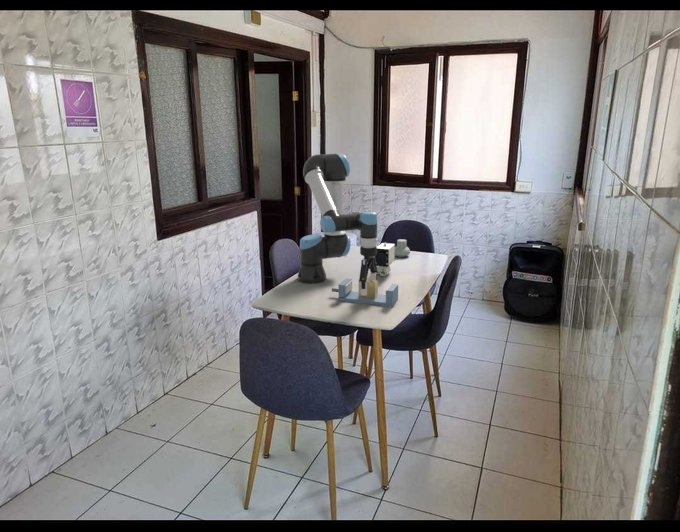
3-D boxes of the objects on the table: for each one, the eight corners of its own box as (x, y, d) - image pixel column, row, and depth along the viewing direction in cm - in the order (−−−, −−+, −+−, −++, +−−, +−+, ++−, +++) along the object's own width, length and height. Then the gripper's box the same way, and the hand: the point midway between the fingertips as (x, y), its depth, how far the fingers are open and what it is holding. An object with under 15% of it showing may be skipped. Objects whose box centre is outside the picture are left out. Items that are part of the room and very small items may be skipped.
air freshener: (411, 257, 300) (411, 241, 297) (398, 258, 298) (398, 242, 295) (404, 253, 310) (405, 238, 307) (392, 254, 308) (392, 238, 305)
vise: (338, 300, 229) (338, 285, 227) (345, 293, 238) (345, 278, 236) (392, 306, 220) (392, 291, 218) (398, 299, 229) (398, 284, 227)
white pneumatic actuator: (380, 269, 276) (381, 238, 272) (395, 270, 274) (396, 239, 269) (371, 278, 260) (371, 246, 255) (386, 280, 257) (387, 247, 252)
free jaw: (328, 295, 230) (328, 283, 228) (336, 289, 239) (336, 277, 237) (345, 297, 227) (345, 285, 225) (352, 290, 236) (352, 279, 234)
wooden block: (358, 297, 228) (358, 281, 226) (361, 294, 232) (361, 278, 229) (375, 299, 225) (375, 282, 223) (377, 296, 229) (377, 280, 227)
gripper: (368, 253, 209) (368, 300, 215) (383, 240, 231) (383, 283, 237) (351, 252, 212) (351, 298, 218) (368, 239, 234) (368, 281, 240)
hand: (368, 290), depth 227 cm, fingers open, 13 cm apart
